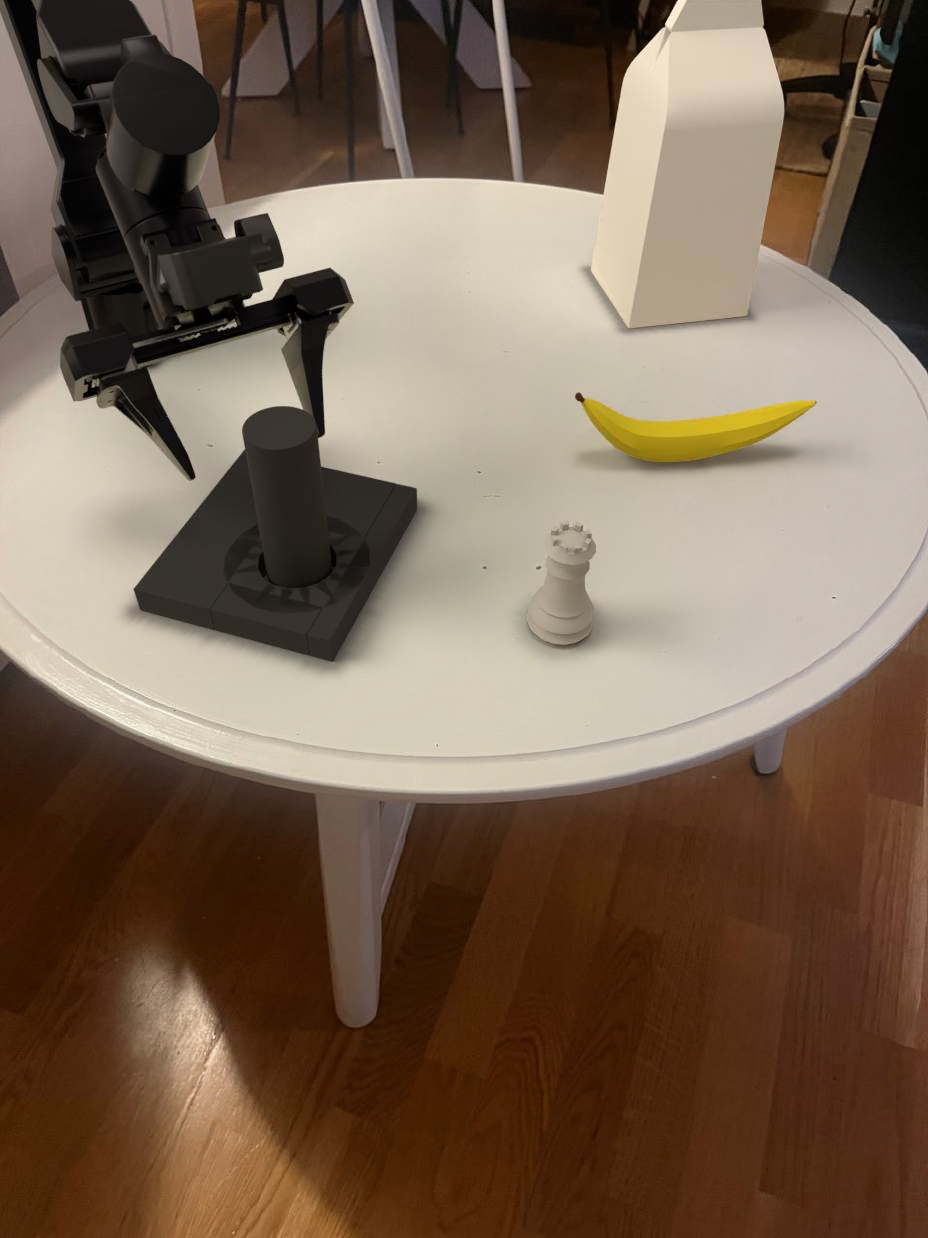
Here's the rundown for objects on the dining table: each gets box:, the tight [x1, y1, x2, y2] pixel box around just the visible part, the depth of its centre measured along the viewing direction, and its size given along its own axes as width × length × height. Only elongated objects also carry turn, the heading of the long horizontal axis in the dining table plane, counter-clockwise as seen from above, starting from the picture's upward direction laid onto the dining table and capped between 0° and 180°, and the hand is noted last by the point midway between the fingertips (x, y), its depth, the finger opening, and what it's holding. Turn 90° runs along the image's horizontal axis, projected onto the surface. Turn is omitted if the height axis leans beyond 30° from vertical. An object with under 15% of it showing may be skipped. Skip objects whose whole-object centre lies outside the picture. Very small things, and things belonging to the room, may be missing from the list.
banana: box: [574, 391, 817, 463], centre depth 76 cm, size 3×19×6 cm, turn 95°
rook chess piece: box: [526, 520, 597, 646], centre depth 62 cm, size 4×4×8 cm
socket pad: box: [133, 449, 418, 662], centre depth 68 cm, size 14×16×2 cm
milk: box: [590, 0, 785, 329], centre depth 87 cm, size 12×12×26 cm
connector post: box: [241, 405, 333, 588], centre depth 63 cm, size 4×4×13 cm
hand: (258, 457), depth 65 cm, fingers open, 9 cm apart
